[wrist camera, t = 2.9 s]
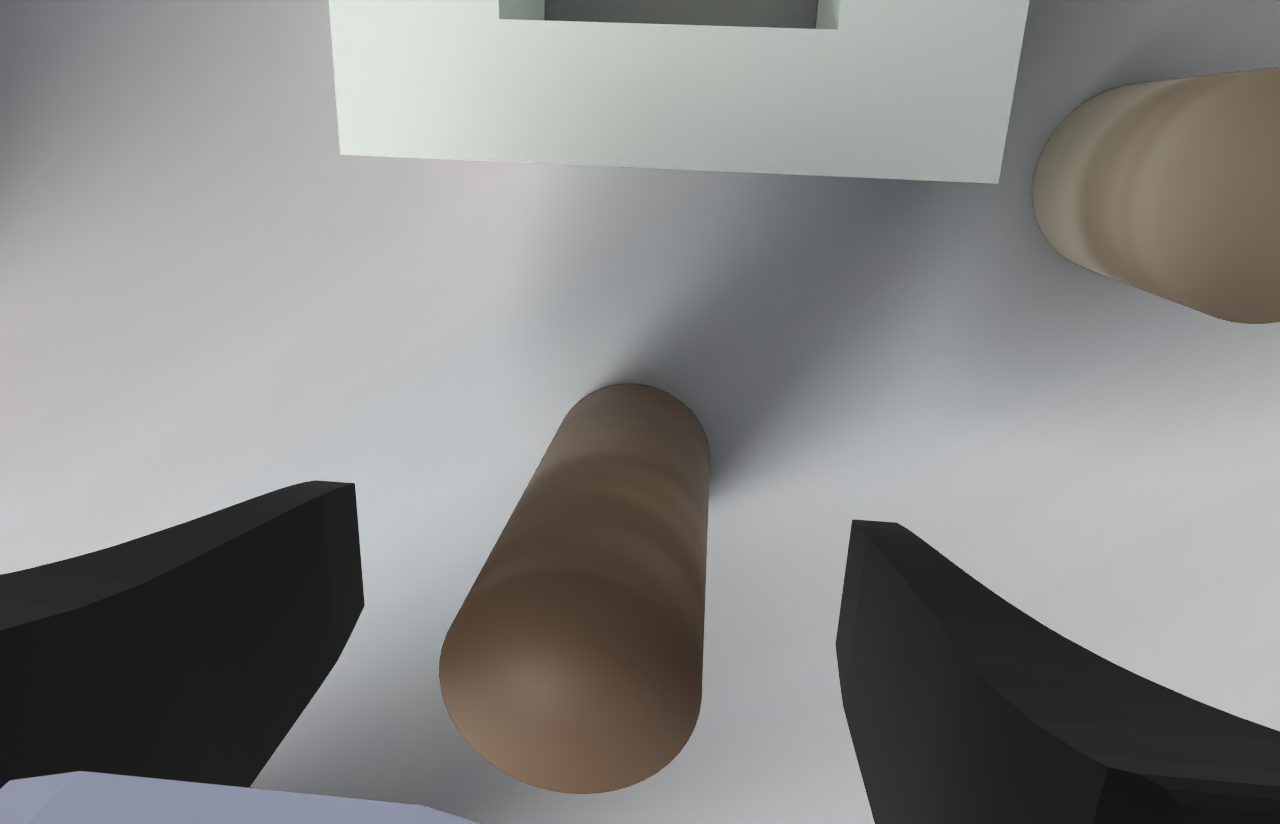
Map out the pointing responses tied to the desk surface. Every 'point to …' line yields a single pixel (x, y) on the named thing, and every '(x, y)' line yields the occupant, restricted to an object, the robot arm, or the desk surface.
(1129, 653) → the desk surface
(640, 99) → the holder block
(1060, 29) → the desk surface
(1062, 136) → the short maple peg
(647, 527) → the long walnut peg
